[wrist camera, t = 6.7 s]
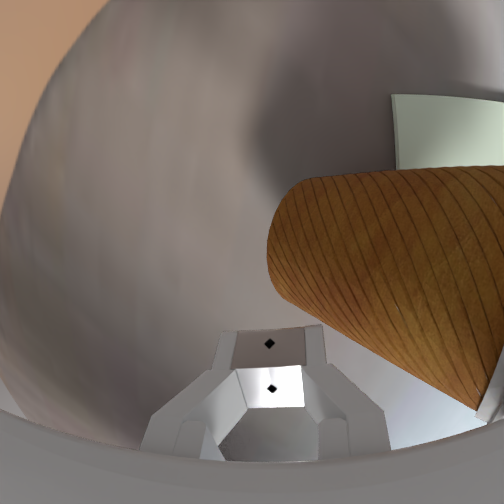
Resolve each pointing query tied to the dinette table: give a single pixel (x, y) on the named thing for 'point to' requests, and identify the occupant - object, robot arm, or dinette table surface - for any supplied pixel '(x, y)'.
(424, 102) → the mat
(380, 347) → the disposable coffee cup
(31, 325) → the dinette table surface
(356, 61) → the dinette table surface
